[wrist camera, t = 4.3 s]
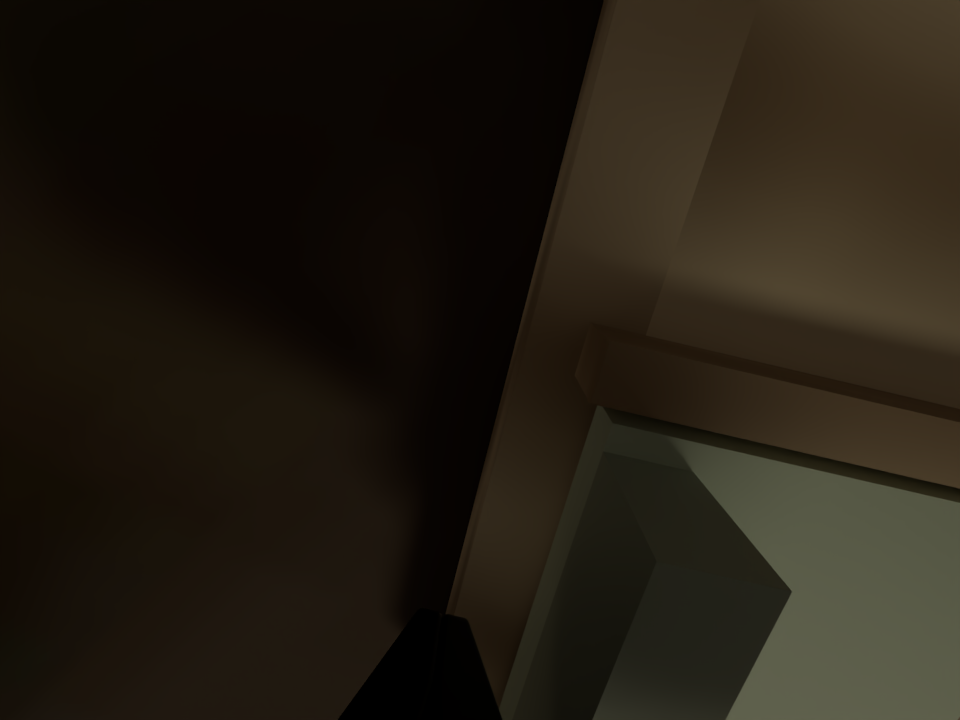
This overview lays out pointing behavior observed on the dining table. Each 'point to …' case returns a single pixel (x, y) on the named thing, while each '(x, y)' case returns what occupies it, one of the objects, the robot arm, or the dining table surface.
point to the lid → (740, 586)
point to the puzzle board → (734, 262)
